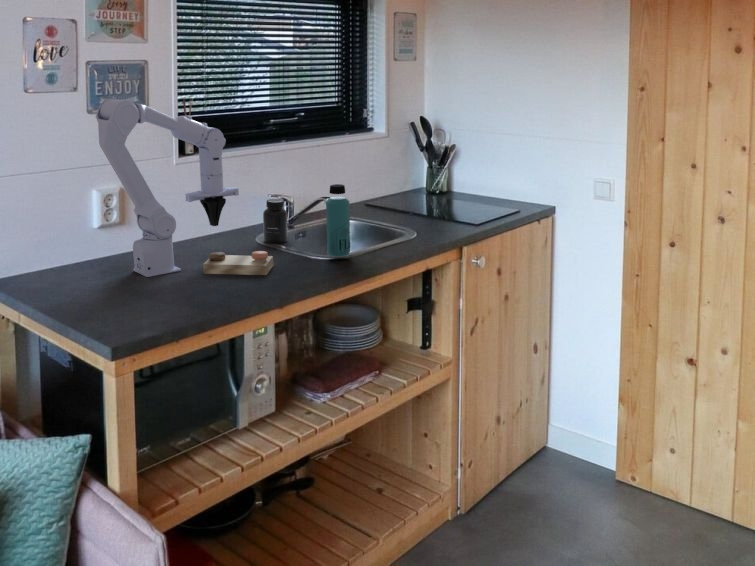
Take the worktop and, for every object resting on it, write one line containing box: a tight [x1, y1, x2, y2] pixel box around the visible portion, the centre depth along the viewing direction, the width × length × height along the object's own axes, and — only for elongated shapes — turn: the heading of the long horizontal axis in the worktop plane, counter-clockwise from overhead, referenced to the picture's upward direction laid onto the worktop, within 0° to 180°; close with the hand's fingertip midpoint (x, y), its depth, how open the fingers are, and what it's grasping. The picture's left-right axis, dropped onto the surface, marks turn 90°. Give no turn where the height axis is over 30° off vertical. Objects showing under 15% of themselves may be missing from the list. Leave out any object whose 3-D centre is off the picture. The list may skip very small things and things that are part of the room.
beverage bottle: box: [325, 184, 351, 257], centre depth 226 cm, size 6×7×20 cm
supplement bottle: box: [262, 198, 288, 244], centre depth 246 cm, size 7×7×12 cm
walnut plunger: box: [208, 251, 226, 261], centre depth 219 cm, size 4×4×4 cm
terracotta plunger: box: [251, 250, 269, 262], centre depth 218 cm, size 4×4×4 cm
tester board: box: [202, 254, 274, 276], centre depth 218 cm, size 16×9×2 cm, turn 85°
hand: (214, 225), depth 225 cm, fingers closed
